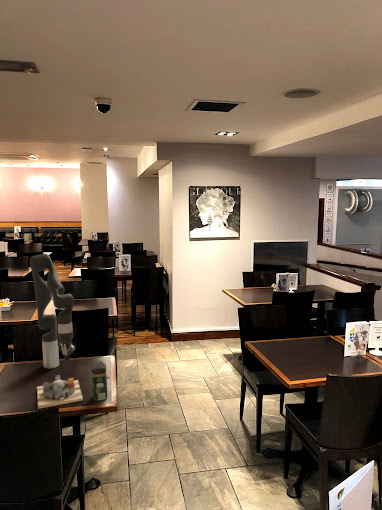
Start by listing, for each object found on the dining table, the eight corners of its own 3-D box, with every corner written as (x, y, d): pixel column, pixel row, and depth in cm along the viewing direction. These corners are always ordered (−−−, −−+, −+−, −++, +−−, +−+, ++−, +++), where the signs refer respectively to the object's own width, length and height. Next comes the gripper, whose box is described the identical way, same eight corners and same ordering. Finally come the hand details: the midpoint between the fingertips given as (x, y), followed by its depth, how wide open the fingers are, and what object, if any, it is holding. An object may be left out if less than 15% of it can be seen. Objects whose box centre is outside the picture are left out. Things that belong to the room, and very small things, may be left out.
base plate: (37, 389, 224) (36, 377, 223) (78, 382, 232) (77, 370, 231) (38, 408, 204) (37, 395, 203) (82, 400, 212) (82, 387, 211)
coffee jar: (92, 393, 219) (90, 361, 216) (107, 391, 221) (105, 359, 218) (92, 402, 210) (90, 368, 207) (107, 400, 212) (106, 367, 209)
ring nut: (42, 387, 222) (42, 377, 221) (73, 382, 228) (72, 372, 227) (44, 401, 208) (43, 390, 207) (76, 395, 213) (75, 385, 213)
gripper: (51, 330, 219) (53, 360, 221) (67, 334, 212) (69, 366, 214) (62, 326, 225) (64, 356, 228) (79, 330, 218) (80, 361, 220)
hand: (67, 360), depth 221 cm, fingers closed
